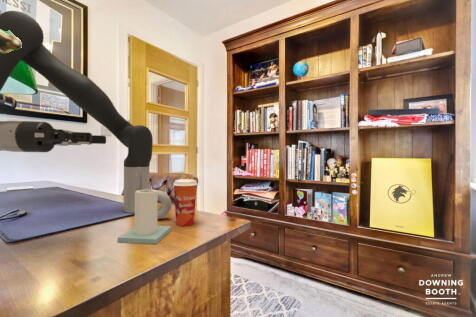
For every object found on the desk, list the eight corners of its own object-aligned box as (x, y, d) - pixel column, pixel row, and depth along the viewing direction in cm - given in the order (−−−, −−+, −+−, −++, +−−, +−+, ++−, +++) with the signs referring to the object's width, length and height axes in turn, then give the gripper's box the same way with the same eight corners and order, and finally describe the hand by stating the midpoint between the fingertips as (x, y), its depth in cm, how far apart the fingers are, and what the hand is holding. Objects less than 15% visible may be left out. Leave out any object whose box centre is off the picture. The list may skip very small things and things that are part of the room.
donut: (172, 217, 77) (172, 189, 77) (170, 220, 74) (170, 191, 74) (142, 218, 76) (142, 189, 76) (139, 221, 73) (139, 191, 72)
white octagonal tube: (138, 228, 62) (138, 189, 62) (158, 227, 63) (158, 189, 63) (132, 235, 56) (133, 193, 56) (155, 234, 58) (155, 192, 57)
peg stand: (138, 229, 65) (138, 201, 65) (171, 230, 64) (171, 202, 64) (117, 242, 55) (117, 209, 55) (156, 244, 54) (156, 210, 54)
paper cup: (172, 228, 66) (173, 181, 66) (172, 220, 74) (173, 179, 74) (198, 226, 69) (199, 181, 68) (196, 219, 76) (197, 178, 76)
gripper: (0, 116, 46) (85, 119, 50) (45, 125, 60) (109, 127, 64) (0, 151, 47) (85, 153, 50) (45, 152, 61) (109, 153, 64)
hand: (99, 138), depth 57 cm, fingers open, 8 cm apart
